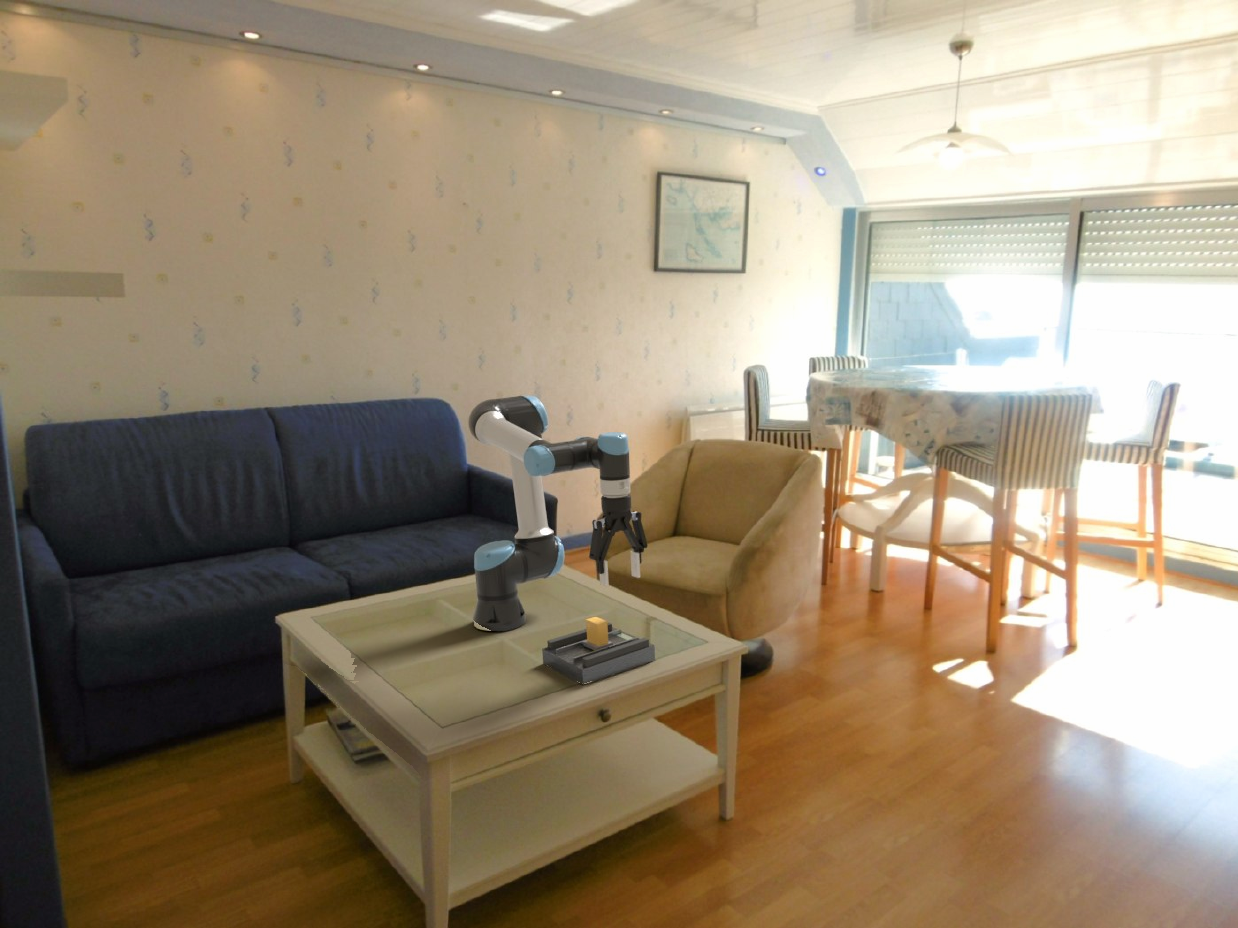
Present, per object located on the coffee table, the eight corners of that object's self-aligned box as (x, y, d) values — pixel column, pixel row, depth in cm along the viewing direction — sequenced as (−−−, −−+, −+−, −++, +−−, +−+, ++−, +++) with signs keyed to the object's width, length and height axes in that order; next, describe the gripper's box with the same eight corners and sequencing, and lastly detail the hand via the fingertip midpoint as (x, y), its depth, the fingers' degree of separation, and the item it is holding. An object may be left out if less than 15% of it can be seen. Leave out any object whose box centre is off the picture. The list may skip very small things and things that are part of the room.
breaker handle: (583, 645, 222) (581, 619, 221) (599, 640, 225) (597, 615, 224) (596, 651, 217) (595, 625, 216) (613, 646, 220) (611, 620, 219)
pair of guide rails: (547, 647, 223) (547, 640, 222) (608, 628, 234) (607, 622, 233) (586, 667, 209) (586, 660, 208) (649, 646, 220) (648, 639, 220)
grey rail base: (543, 663, 223) (541, 644, 222) (612, 641, 235) (611, 623, 235) (583, 685, 208) (582, 665, 207) (655, 660, 221) (654, 641, 220)
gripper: (588, 504, 210) (593, 593, 214) (659, 489, 223) (663, 574, 227) (570, 499, 216) (576, 587, 220) (641, 485, 229) (645, 568, 233)
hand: (620, 580), depth 223 cm, fingers open, 9 cm apart
